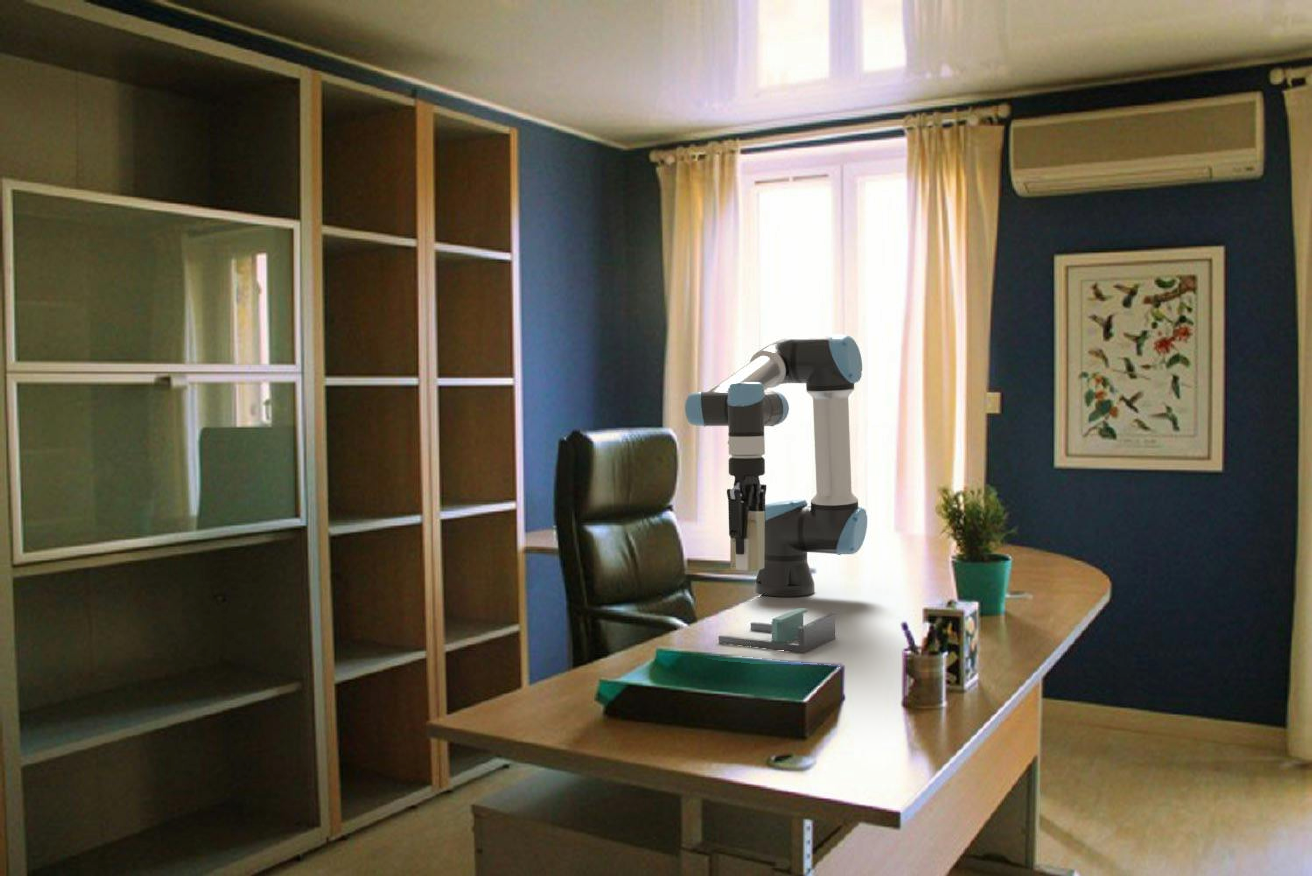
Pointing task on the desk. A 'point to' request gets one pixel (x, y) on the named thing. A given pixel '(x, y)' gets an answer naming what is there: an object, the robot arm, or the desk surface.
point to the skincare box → (752, 541)
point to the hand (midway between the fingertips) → (747, 567)
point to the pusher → (787, 625)
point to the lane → (807, 641)
